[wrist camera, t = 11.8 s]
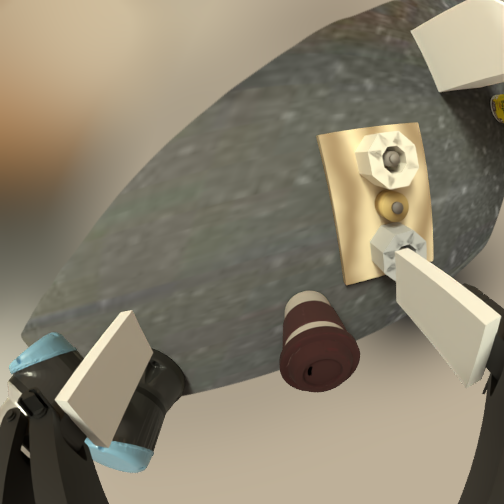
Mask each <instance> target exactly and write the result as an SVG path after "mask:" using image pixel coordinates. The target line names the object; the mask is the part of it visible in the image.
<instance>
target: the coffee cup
mask: <svg viewBox="0 0 504 504" xmlns="http://www.w3.org/2000/svg"><path fill="white" fill-rule="evenodd" d="M359 360H360V351H359V348H358V345H357V343H356V341H355V339H354V338H353V336H352V335H351V334H350V333H348V332H347V330H346V329H345V327H344V325H343V323H342V322H341V320H340V318H339V316H338V315H337V313H336V311H335V310H334V308H333V307H331V305H330V303H329V302H328V300H327V299H326V297H325V296H323V295H322V294H320V293H318V292H315V291H303V292H300V293H298V294H296V295H295V296H293V297H292V298H291V299H290V300H289V301H288V303H287V305H286V308H285V320H284V324H283V350H282V352H281V355H280V372H281V375H282V377H283V379H284V380H285V381H286V382H287V383H288V384H289V385H290V386H292V387H294V388H296V389H299V390H302V391H309V392H324V391H328V390H331V389H333V388H336V387H337V386H339V385H340V384H342V382H344V381H345V380H347V379H348V378H349V377H350V376H351V375H352V373H354V371H355V370H356V368H357V366H358V363H359Z"/></svg>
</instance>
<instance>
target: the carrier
mask: <svg viewBox="0 0 504 504" xmlns="http://www.w3.org/2000/svg"><path fill="white" fill-rule="evenodd" d="M392 131H400V132H401V133H402V134H403V135H404V136H405V137H406V138H408V139H409V140H410V141H411V142H412V143H413V144H414V145H415V147H416V153H417V158H418V164H419V169H418V170H417V172H416V174H415V176H414V178H413V179H412V181H411V183H410V185H409V186H405V187H400V188H395V189H386V188H383V187H379V186H376V185H374V184H372V183H371V182H370V181H369V180H367V179H366V178H365V177H363V176H362V175H361V174H359V171H358V166H357V162H356V157H355V151H356V149H357V148H358V146H359V144H360V143H361V141H362V139H363V138H364V136H366V135H371V134H377V133H384V132H392ZM316 138H317V142H318V146H319V150H320V154H321V158H322V162H323V167H324V171H325V176H326V180H327V185H328V190H329V195H330V200H331V205H332V210H333V216H334V221H335V227H336V233H337V239H338V245H339V251H340V258H341V265H342V272H343V280H344V283H345V284H346V285H350V284H353V283H357V282H361V281H365V280H369V279H372V278H376V277H380V276H383V275H386V274H385V273H384V272H383V271H382V270H381V269H380V268H379V267H378V266H377V265H376V264H375V263H374V262H373V261H372V258H371V248H370V241H371V239H372V238H373V236H374V235H375V233H376V232H377V230H378V229H379V227H380V226H381V225H385V224H389V223H393V222H400V223H401V224H403V225H405V226H407V227H409V228H410V229H412V230H414V231H415V232H416V233H417V234H418V235H420V236H421V237H422V238H423V239H424V240H425V241H426V248H427V261H429V262H430V261H433V228H432V211H431V200H430V190H429V181H428V174H427V167H426V161H425V155H424V149H423V144H422V139H421V134H420V129H419V125H418V123H405V124H394V125H385V126H376V127H368V128H360V129H353V130H346V131H340V132H334V133H328V134H322V135H318V136H316ZM382 158H383V164H384V168H386V169H387V167H388V166H390V167H396V166H397V165H398V164H399V163H400V157H399V155H398V153H397V152H395V151H386V150H385V152H384V153H383V155H382ZM402 249H406V248H405V247H404V246H402V247H401V248H400V249H399V250H402Z"/></svg>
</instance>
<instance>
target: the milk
mask: <svg viewBox="0 0 504 504" xmlns="http://www.w3.org/2000/svg"><path fill="white" fill-rule="evenodd" d="M411 33H412V35H413V37H414V39H415V41H416V42H417V44H418V46H419V48H420V50H421V52H422V54H423V56H424V59H425V61H426V63H427V65H428V67H429V69H430V72H431V74H432V76H433V79H434V81H435V84H436V86H437V89H438V91H439V92H445V91H452V90H461V89H471V88H481V87H484V86H488V85H493V84H497V83H501V82H504V2H503V1H500V0H466V1H464V2H462V3H460V4H458V5H456V6H454V7H452V8H450V9H449V10H447V11H445V12H443V13H441V14H439V15H437V16H436V17H434V18H432V19H430V20H429V21H427V22H425V23H423V24H422V25H420V26H418V27H417V28H415V29H413V30H412V31H411Z"/></svg>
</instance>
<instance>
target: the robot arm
mask: <svg viewBox="0 0 504 504" xmlns="http://www.w3.org/2000/svg"><path fill="white" fill-rule="evenodd" d="M395 263H396V302H397V303H398V304H399V305H400V306H401V307H402V309H403V310H404V311H405V312H406V313H407V314H408V316H409V317H410V318H411V319H412V320H413V321H414V323H415V324H416V325H417V326H418V327H419V329H420V330H421V331H422V332H423V333H424V335H425V336H426V337H427V338H428V339H429V341H430V342H431V343H432V344H433V346H434V347H435V348H436V349H437V350H438V352H439V353H440V354H441V356H442V357H443V358H444V359H445V361H446V362H447V363H448V365H449V366H450V367H451V369H452V370H453V371H454V373H455V374H456V375H457V377H458V378H459V379H460V380H461V382H462V384H463V385H464V386H465V388H468V387H469V386H471V385H473V384H474V383H476V382H478V381H479V380H481V379H482V376H483V374H484V371H485V368H487V369H488V370H489V371H490V376H489V378H488V381H487V383H486V385H485V388H484V390H483V394H485V392H486V390H487V396H486V403H485V410H484V417H483V422H482V427H481V432H480V436H479V440H478V445H477V449H476V452H475V456H474V460H473V463H472V467H471V470H470V473H469V476H468V479H467V482H466V484H465V487H464V490H463V493H462V495H461V498H460V500H459V503H458V504H504V309H503V308H502V307H501V306H499V305H498V304H497V303H496V302H494V301H493V300H492V299H489V297H488V296H486V295H485V294H484V295H483V293H482V292H481V291H480V290H478V289H477V288H476V287H473V286H470V285H468V284H462V285H461V284H460V283H458V282H457V281H456V280H454V279H453V278H452V277H450V276H449V275H447V274H446V273H445V272H443V271H442V270H440V269H439V268H437V267H436V266H435V265H433V264H432V263H430V262H429V261H427V260H426V259H424V258H423V257H421V256H420V255H418V254H417V253H415V252H414V251H412V250H411V249H409V248H406V249H402V250H398V251H395ZM9 369H10V373H11V374H13V376H12V377H11V379H10V380H9V381H8V382H7V385H8V398H7V400H6V401H5V402H4V403H3V405H2V406H1V407H0V504H109V503H108V501H107V498H106V496H105V493H104V491H103V488H102V485H101V483H100V480H99V477H98V475H97V472H96V469H95V465H94V463H93V460H94V461H96V462H98V463H100V464H102V465H104V466H107V467H109V468H113V469H116V470H119V471H123V472H130V473H131V472H132V473H138V472H141V471H143V470H145V469H146V468H147V466H148V464H149V462H150V460H151V457H152V456H153V454H154V452H153V451H154V448H155V445H156V442H157V439H158V436H159V433H160V430H161V426H162V424H163V420H164V418H165V415H166V412H167V411H168V410H169V409H170V408H171V406H172V405H173V404H174V403H175V402H176V401H177V400H178V399H179V398H180V397H181V395H182V393H183V390H184V386H185V379H184V375H183V373H182V371H181V370H180V368H179V367H178V366H177V365H176V364H175V363H174V362H173V361H172V360H171V359H170V358H169V357H167V356H166V355H164V354H162V353H161V352H159V351H157V350H154V349H152V348H151V347H150V345H149V344H148V342H147V340H146V338H145V336H144V334H143V332H142V330H141V328H140V326H139V323H138V321H137V319H136V317H135V315H134V313H133V311H132V310H131V311H125V312H121V313H120V314H119V315H118V316H117V318H116V319H115V320H114V321H113V323H112V324H111V325H110V326H109V327H108V329H107V330H106V331H105V333H104V334H103V335H102V336H101V338H100V339H99V340H98V341H97V343H96V344H95V345H94V347H93V348H92V349H91V350H90V352H89V353H88V354H87V356H86V357H85V358H83V357H82V356H81V355H80V353H79V352H78V351H77V349H76V348H75V347H73V346H72V345H71V344H70V343H69V342H68V341H67V340H66V339H65V338H64V337H63V336H62V335H61V334H59V333H56V332H52V333H49V334H47V335H46V336H44V337H42V338H41V339H40V340H38V341H37V342H35V343H34V344H33V345H31V346H30V347H29V348H27V349H26V350H25V351H24V352H23V353H22V354H21V355H20V356H18V357H17V358H16V359H15V360H14V361H13V362H12V363H11V364H10V365H9Z"/></svg>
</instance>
